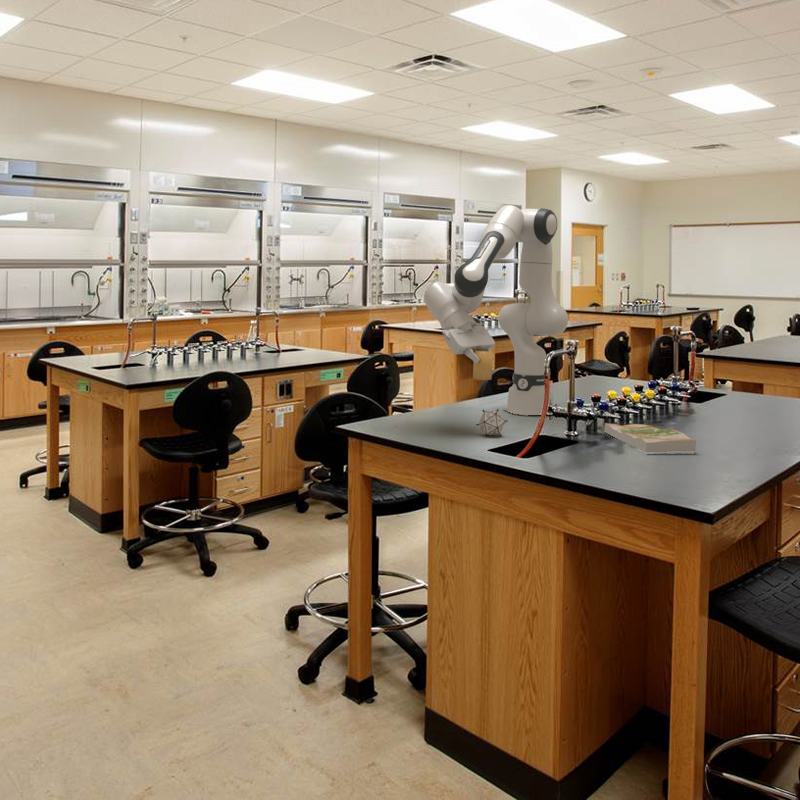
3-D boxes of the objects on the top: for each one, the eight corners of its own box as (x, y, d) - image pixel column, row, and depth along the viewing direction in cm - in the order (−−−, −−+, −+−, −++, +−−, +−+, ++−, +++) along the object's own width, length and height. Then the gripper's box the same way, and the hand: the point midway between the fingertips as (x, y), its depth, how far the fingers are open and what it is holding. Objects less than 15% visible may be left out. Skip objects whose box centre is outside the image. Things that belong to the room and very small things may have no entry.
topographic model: (694, 455, 220) (696, 438, 219) (645, 456, 218) (646, 438, 217) (647, 434, 249) (648, 419, 248) (603, 434, 247) (605, 419, 246)
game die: (495, 449, 238) (505, 426, 231) (469, 437, 239) (479, 414, 232) (503, 430, 244) (513, 408, 237) (478, 419, 245) (487, 396, 238)
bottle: (478, 377, 243) (479, 344, 241) (494, 378, 240) (496, 346, 238) (469, 378, 238) (471, 345, 237) (486, 380, 235) (487, 347, 234)
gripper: (446, 321, 232) (472, 356, 228) (482, 319, 248) (508, 352, 244) (433, 335, 236) (459, 370, 231) (470, 332, 252) (495, 365, 247)
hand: (484, 361), depth 238 cm, fingers closed on bottle, 6 cm apart
